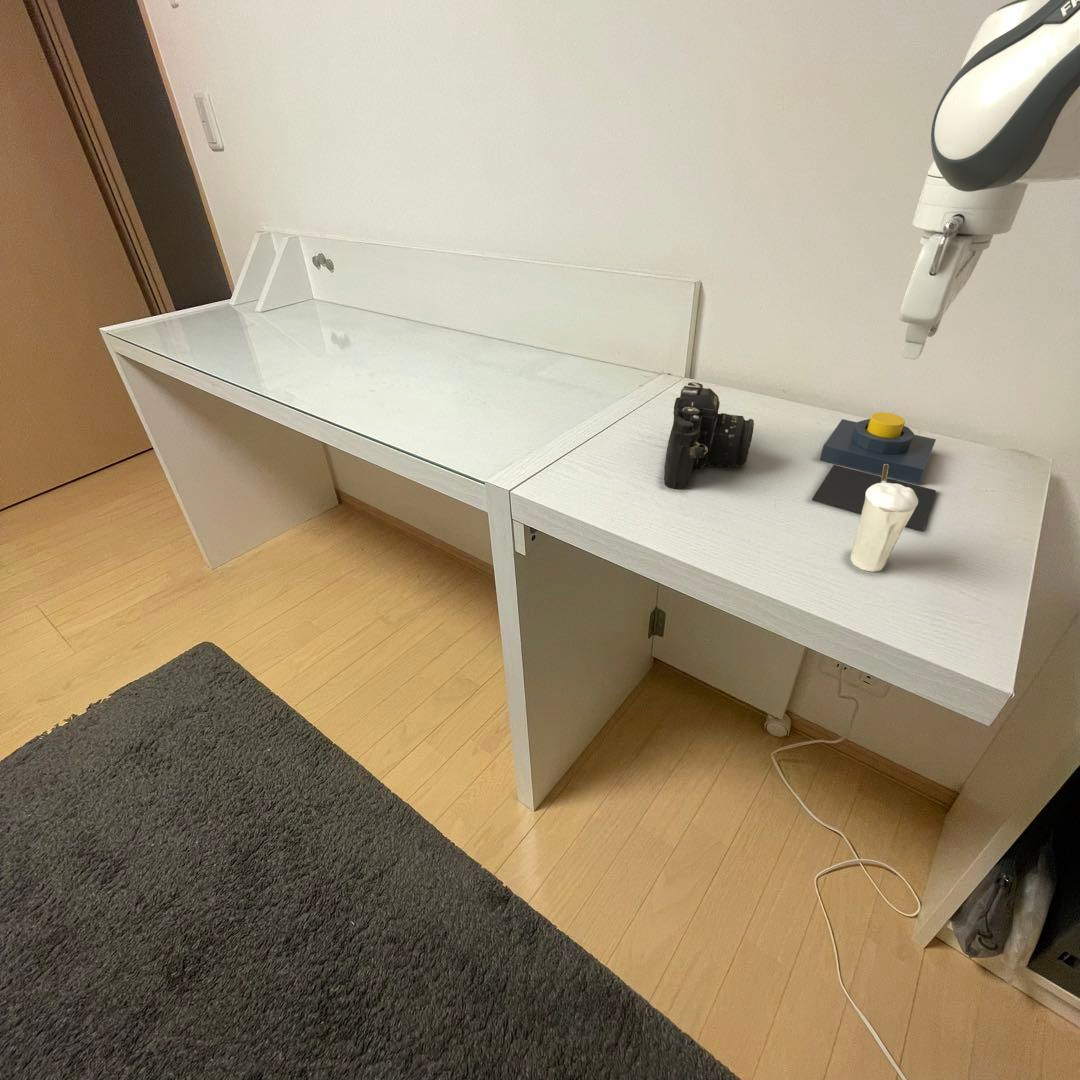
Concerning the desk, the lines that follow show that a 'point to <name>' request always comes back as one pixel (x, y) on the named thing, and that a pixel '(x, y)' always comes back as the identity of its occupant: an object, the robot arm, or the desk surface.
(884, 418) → the cylinder
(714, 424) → the film camera
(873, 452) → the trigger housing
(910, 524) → the mat
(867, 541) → the milkshake
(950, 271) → the robot arm
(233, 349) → the desk surface
